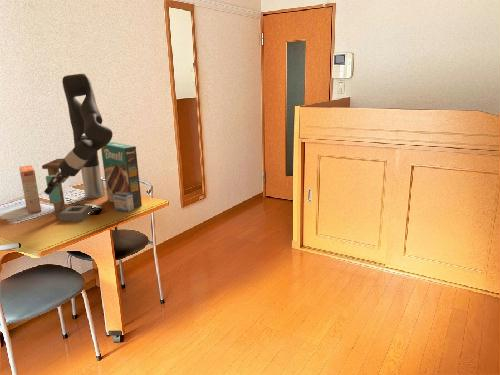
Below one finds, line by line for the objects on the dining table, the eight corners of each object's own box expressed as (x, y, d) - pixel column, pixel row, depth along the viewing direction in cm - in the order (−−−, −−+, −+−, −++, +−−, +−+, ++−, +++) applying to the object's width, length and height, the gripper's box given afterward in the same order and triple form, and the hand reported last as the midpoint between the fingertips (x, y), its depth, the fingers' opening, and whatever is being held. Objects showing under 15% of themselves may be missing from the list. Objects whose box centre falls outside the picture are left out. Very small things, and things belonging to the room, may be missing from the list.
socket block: (70, 213, 186) (69, 206, 185) (91, 213, 186) (90, 205, 185) (60, 221, 177) (59, 213, 176) (82, 221, 177) (81, 212, 176)
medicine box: (114, 210, 190) (112, 193, 187) (120, 207, 194) (118, 190, 191) (128, 212, 187) (126, 194, 185) (134, 209, 191) (132, 192, 189)
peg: (57, 199, 166) (52, 174, 163) (63, 201, 164) (59, 175, 161) (47, 202, 162) (43, 176, 159) (54, 203, 160) (49, 178, 157)
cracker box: (42, 211, 190) (34, 169, 185) (28, 214, 187) (20, 171, 181) (39, 204, 202) (32, 164, 196) (26, 206, 199) (18, 166, 193)
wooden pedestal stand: (66, 212, 188) (57, 158, 181) (86, 212, 188) (79, 158, 181) (52, 223, 175) (41, 165, 167) (74, 222, 175) (65, 165, 167)
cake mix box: (107, 200, 206) (100, 143, 197) (118, 197, 210) (111, 141, 202) (131, 208, 192) (124, 148, 184) (141, 205, 197) (135, 146, 188)
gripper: (74, 152, 164) (50, 180, 168) (57, 159, 151) (32, 190, 154) (88, 164, 166) (64, 192, 169) (73, 173, 152) (48, 203, 156)
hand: (49, 191), depth 162 cm, fingers closed on peg, 4 cm apart
